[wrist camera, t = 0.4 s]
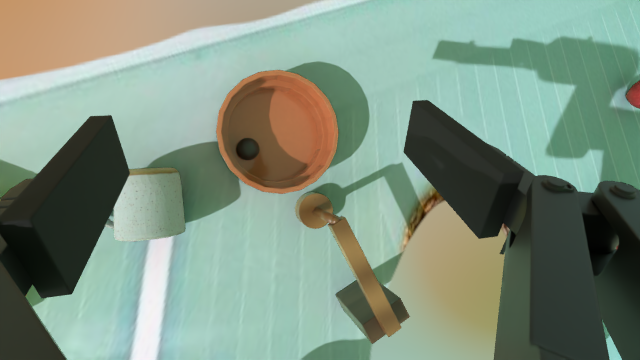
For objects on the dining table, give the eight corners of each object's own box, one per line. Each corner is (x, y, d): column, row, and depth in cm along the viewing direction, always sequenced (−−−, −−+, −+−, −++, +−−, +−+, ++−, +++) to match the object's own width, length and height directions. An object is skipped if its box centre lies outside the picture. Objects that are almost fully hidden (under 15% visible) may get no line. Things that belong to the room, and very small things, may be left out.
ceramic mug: (183, 165, 45) (174, 166, 37) (188, 226, 45) (181, 239, 38) (91, 171, 42) (63, 173, 35) (99, 236, 42) (72, 252, 35)
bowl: (341, 158, 51) (356, 157, 45) (251, 208, 48) (255, 215, 42) (294, 64, 48) (305, 50, 43) (195, 110, 45) (192, 102, 39)
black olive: (262, 154, 47) (264, 153, 44) (242, 164, 46) (244, 164, 44) (251, 134, 47) (253, 132, 44) (231, 144, 46) (232, 143, 43)
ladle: (371, 287, 54) (411, 321, 42) (344, 305, 52) (379, 344, 41) (318, 185, 50) (347, 192, 39) (289, 202, 49) (310, 214, 38)
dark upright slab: (374, 288, 54) (409, 316, 44) (343, 310, 52) (372, 344, 43) (366, 273, 53) (400, 298, 43) (335, 294, 52) (362, 325, 42)
